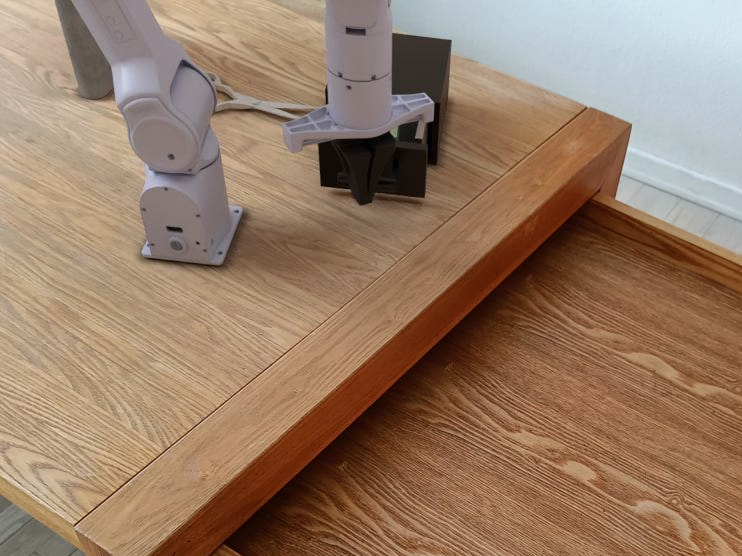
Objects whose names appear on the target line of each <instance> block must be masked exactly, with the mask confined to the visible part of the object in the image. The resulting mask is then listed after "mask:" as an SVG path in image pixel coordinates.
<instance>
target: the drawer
mask: <svg viewBox="0 0 742 556" xmlns="http://www.w3.org/2000/svg"><path fill="white" fill-rule="evenodd" d="M430 131H431V122H427V123H423V122H422V121H421V120H418V121H414V122H409V123H405V124H401V125H399V141H396V149H395V151H394V153H393V154H392V155H391V157H390V158H389V160H388V161H387V163H386V165H385V167H384V169H383V171H382V173H381V175H380V178H379V181H378V184H377V187H376V190H375V194H381V195H392V196H401V197H408V198H419V199H425V198H426V194H427V193H426V192H427V175H428V174H427V173H428V164H427V155H428V142H429V136H430ZM317 150H318V151H317V152H318V153H317V154H318V168H319V183H320V187H322V188H330V189H331V188H332V189H341V190H347V191H349V190H350V191H351V189H350V185H349V181H348V178H347V175H346V172H345V169H344V167H343V164H342V162H341V160H340V158H339V156H338V154H337V152H336V150H335V148H334V146H333V144H332V143H331V141H326V142H322V143H317Z"/></svg>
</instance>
